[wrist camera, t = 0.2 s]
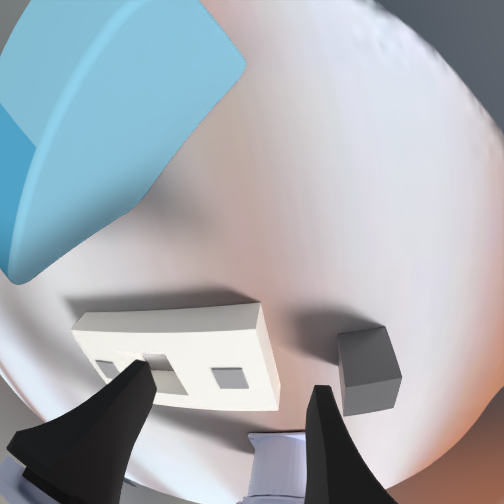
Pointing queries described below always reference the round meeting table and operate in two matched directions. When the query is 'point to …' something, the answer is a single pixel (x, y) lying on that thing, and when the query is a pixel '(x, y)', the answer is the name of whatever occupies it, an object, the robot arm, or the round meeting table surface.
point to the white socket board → (190, 354)
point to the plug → (367, 371)
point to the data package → (97, 114)
